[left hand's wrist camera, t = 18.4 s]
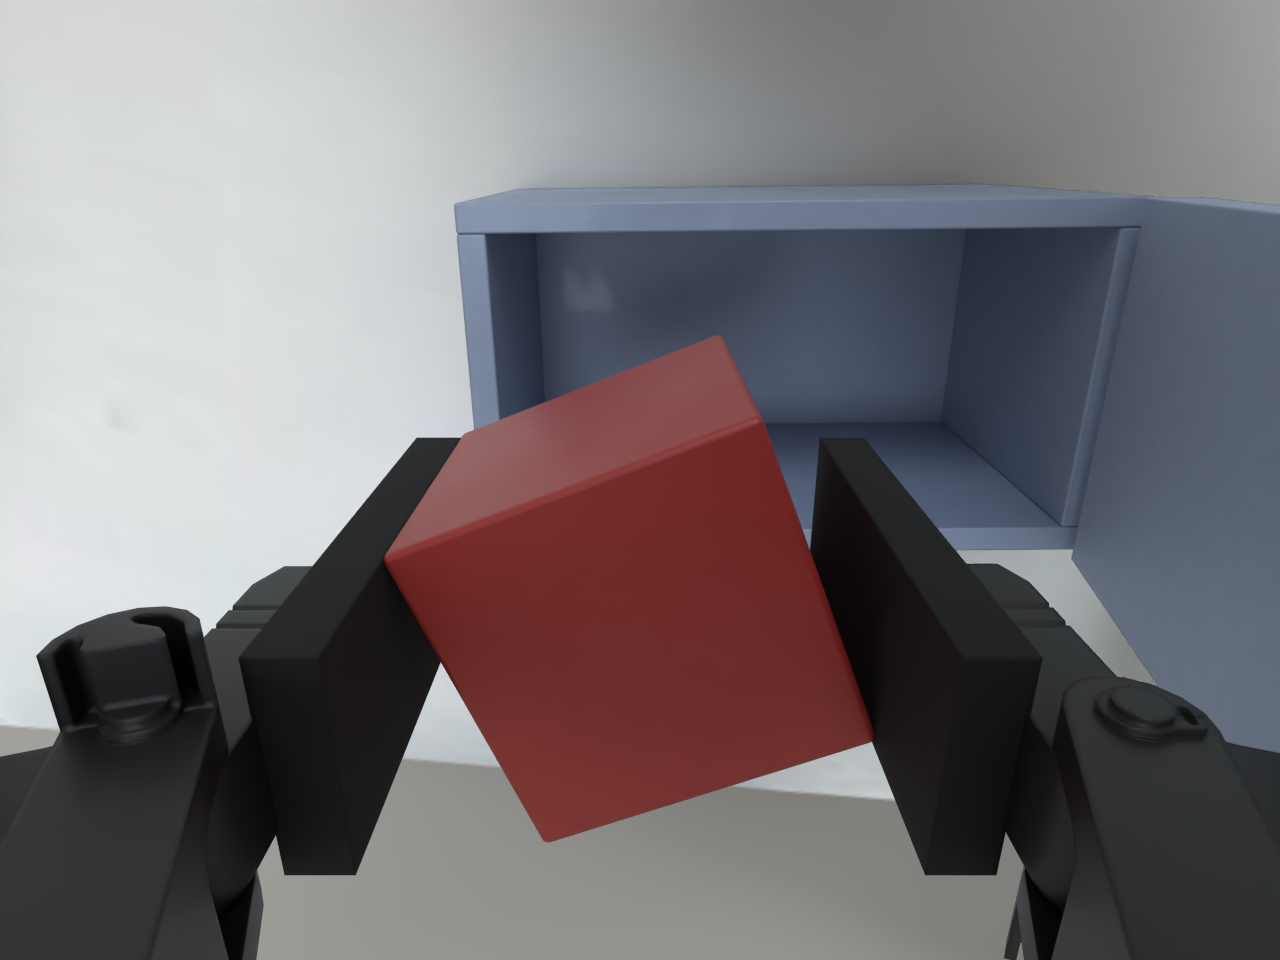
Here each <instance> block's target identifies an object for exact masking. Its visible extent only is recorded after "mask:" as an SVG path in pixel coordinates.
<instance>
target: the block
mask: <svg viewBox="0 0 1280 960" xmlns="http://www.w3.org/2000/svg"><path fill="white" fill-rule="evenodd" d="M384 563H385V565H386V567H387V569H388V571H389V572H390V574H391V576H392V578H393V579H394V581H395V583H396V585H397V586H398V588H399V590H400V592H401V593H402V595H403V597H404V599H405V600H406V602H407V604H408V606H409V607H410V609H411V611H412V613H413V614H414V616H415V618H416V619H417V621H418V623H419V625H420V626H421V628H422V630H423V632H424V633H425V635H426V637H427V639H428V640H429V642H430V644H431V646H432V647H433V649H434V651H435V653H436V654H437V656H438V658H439V660H440V661H441V663H442V665H443V667H444V668H445V670H446V672H447V674H448V675H449V677H450V679H451V680H452V682H453V684H454V686H455V687H456V689H457V691H458V693H459V694H460V696H461V698H462V700H463V701H464V703H465V705H466V707H467V708H468V710H469V712H470V714H471V715H472V717H473V719H474V721H475V722H476V724H477V726H478V728H479V729H480V731H481V733H482V735H483V736H484V738H485V740H486V742H487V743H488V745H489V747H490V748H491V750H492V752H493V754H494V755H495V757H496V759H497V761H498V762H499V764H500V766H501V768H502V769H503V771H504V773H505V775H506V776H507V778H508V780H509V782H510V783H511V785H512V787H513V789H514V790H515V792H516V794H517V795H518V797H519V799H520V801H521V803H522V804H523V806H524V808H525V809H526V811H527V813H528V815H529V816H530V818H531V820H532V822H533V823H534V825H535V827H536V829H537V830H538V832H539V834H540V836H541V837H542V839H543V840H544V841H545V842H552V841H555V840H558V839H562V838H565V837H568V836H571V835H575V834H578V833H581V832H584V831H587V830H591V829H594V828H597V827H600V826H603V825H607V824H610V823H613V822H616V821H619V820H623V819H626V818H629V817H632V816H635V815H639V814H642V813H645V812H648V811H651V810H655V809H658V808H661V807H664V806H668V805H671V804H674V803H677V802H680V801H684V800H687V799H690V798H693V797H696V796H700V795H703V794H706V793H709V792H712V791H716V790H719V789H722V788H725V787H729V786H732V785H735V784H738V783H741V782H745V781H748V780H751V779H754V778H757V777H761V776H764V775H767V774H770V773H773V772H777V771H780V770H783V769H786V768H790V767H793V766H796V765H799V764H802V763H806V762H809V761H812V760H815V759H818V758H822V757H825V756H828V755H831V754H834V753H838V752H841V751H844V750H847V749H850V748H854V747H857V746H860V745H863V744H867V743H870V742H872V741H873V740H874V728H873V726H872V723H871V720H870V717H869V714H868V712H867V709H866V706H865V703H864V700H863V698H862V695H861V692H860V689H859V686H858V684H857V681H856V678H855V675H854V672H853V670H852V667H851V664H850V661H849V658H848V656H847V653H846V650H845V647H844V644H843V642H842V639H841V636H840V633H839V630H838V628H837V625H836V622H835V619H834V616H833V613H832V611H831V608H830V605H829V602H828V599H827V597H826V594H825V591H824V588H823V585H822V583H821V580H820V577H819V574H818V571H817V569H816V566H815V563H814V560H813V557H812V555H811V552H810V549H809V546H808V543H807V541H806V538H805V535H804V532H803V529H802V527H801V524H800V521H799V518H798V515H797V513H796V510H795V507H794V504H793V501H792V499H791V496H790V493H789V490H788V487H787V484H786V482H785V479H784V476H783V473H782V470H781V468H780V465H779V462H778V459H777V456H776V454H775V451H774V448H773V445H772V442H771V440H770V437H769V434H768V431H767V428H766V426H765V423H764V420H763V418H762V416H761V414H760V412H759V410H758V408H757V406H756V404H755V402H754V400H753V398H752V396H751V394H750V392H749V390H748V387H747V385H746V383H745V381H744V379H743V377H742V375H741V373H740V371H739V369H738V367H737V365H736V363H735V361H734V359H733V357H732V355H731V353H730V351H729V349H728V347H727V345H726V343H725V341H724V339H723V337H722V336H721V335H716V336H713V337H711V338H708V339H706V340H703V341H700V342H698V343H695V344H693V345H690V346H688V347H685V348H683V349H680V350H677V351H675V352H672V353H670V354H667V355H665V356H662V357H659V358H657V359H654V360H652V361H649V362H647V363H644V364H642V365H639V366H636V367H634V368H631V369H629V370H626V371H624V372H621V373H619V374H616V375H613V376H611V377H608V378H606V379H603V380H601V381H598V382H596V383H593V384H590V385H588V386H585V387H583V388H580V389H578V390H575V391H573V392H570V393H567V394H565V395H562V396H560V397H557V398H555V399H552V400H550V401H547V402H544V403H542V404H539V405H537V406H534V407H532V408H529V409H527V410H524V411H521V412H519V413H516V414H514V415H511V416H509V417H506V418H504V419H501V420H498V421H496V422H493V423H491V424H488V425H486V426H483V427H481V428H478V429H475V430H473V431H470V432H468V433H465V434H464V435H463V436H462V437H461V439H460V441H459V443H458V444H457V446H456V447H455V449H454V450H453V452H452V453H451V455H450V456H449V458H448V459H447V461H446V462H445V464H444V466H443V467H442V469H441V470H440V472H439V473H438V475H437V476H436V478H435V479H434V481H433V482H432V484H431V486H430V487H429V489H428V490H427V492H426V493H425V495H424V496H423V498H422V499H421V501H420V502H419V504H418V505H417V507H416V509H415V510H414V512H413V513H412V515H411V516H410V518H409V519H408V521H407V522H406V524H405V525H404V527H403V529H402V530H401V532H400V533H399V535H398V536H397V538H396V539H395V541H394V542H393V544H392V545H391V547H390V549H389V550H388V552H387V553H386V555H385V557H384Z"/></svg>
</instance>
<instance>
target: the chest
mask: <svg viewBox="0 0 1280 960" xmlns="http://www.w3.org/2000/svg"><path fill="white" fill-rule="evenodd" d="M1149 197H1154V196H1147V195H1133V194H1118V193H1104V192H1090V191H1076V190H1062V189H1048V188H1034V187H1020V186H1006V185H992V184H926V185H833V186H739V187H646V188H553V189H516V190H511V191H507V192H502V193H498V194H494V195H490V196H486V197H481V198H477V199H473V200H469V201H465V202H460V203H456V204H455V205H454V210H455V221H456V232H457V233H458V234H459V235H457V243H458V254H459V266H460V277H461V288H462V299H463V310H464V321H465V332H466V343H467V354H468V365H469V376H470V387H471V399H472V410H473V421H474V430H475V429H478V428H481V427H483V426H486V425H488V424H491V423H493V422H496V421H498V420H501V419H504V418H506V417H509V416H511V415H514V414H516V413H519V412H521V411H524V410H527V409H529V408H532V407H534V406H537V405H539V404H542V403H544V402H547V401H550V400H552V399H555V398H557V397H560V396H562V395H565V394H567V393H570V392H573V391H575V390H578V389H580V388H583V387H585V386H588V385H590V384H593V383H596V382H598V381H601V380H603V379H606V378H608V377H611V376H613V375H616V374H619V373H621V372H624V371H626V370H629V369H631V368H634V367H636V366H639V365H642V364H644V363H647V362H649V361H652V360H654V359H657V358H659V357H662V356H665V355H667V354H670V353H672V352H675V351H677V350H680V349H683V348H685V347H688V346H690V345H693V344H695V343H698V342H700V341H703V340H706V339H708V338H711V337H713V336H716V335H721V336H722V337H723V339H724V341H725V343H726V345H727V347H728V349H729V351H730V353H731V355H732V357H733V359H734V361H735V363H736V365H737V367H738V369H739V371H740V373H741V375H742V377H743V379H744V381H745V383H746V385H747V387H748V390H749V392H750V394H751V396H752V398H753V400H754V402H755V404H756V406H757V408H758V410H759V412H760V414H761V416H762V418H763V420H764V423H765V426H766V428H767V431H768V434H769V437H770V440H771V442H772V445H773V448H774V451H775V454H776V456H777V459H778V462H779V465H780V468H781V470H782V473H783V476H784V479H785V482H786V484H787V487H788V490H789V493H790V496H791V499H792V501H793V504H794V507H795V510H796V513H797V515H798V518H799V521H800V524H801V527H802V529H803V532H804V535H805V538H806V541H807V543H808V546H809V549H810V543H811V532H812V520H813V508H814V496H815V485H816V473H817V461H818V450H819V438H865V440H866V441H867V442H868V443H869V445H870V446H871V447H872V448H873V449H874V451H875V452H876V453H877V454H878V456H879V457H880V458H881V459H882V461H883V462H884V463H885V464H886V465H887V467H888V468H889V469H890V470H891V472H892V473H893V474H894V475H895V477H896V478H897V479H898V480H899V481H900V483H901V484H902V485H903V486H904V488H905V489H906V490H907V491H908V493H909V494H910V495H911V496H912V497H913V499H914V500H915V501H916V502H917V504H918V505H919V506H920V507H921V509H922V510H923V511H924V512H925V513H926V515H927V516H928V517H929V518H930V520H931V521H932V522H933V523H934V525H935V526H936V527H937V528H938V529H939V531H940V532H941V533H942V534H943V536H944V537H945V538H946V539H947V541H948V542H949V543H950V544H951V545H952V547H953V548H954V549H955V550H1041V549H1073V548H1074V544H1075V539H1076V534H1077V529H1078V525H1079V520H1080V515H1081V510H1082V506H1083V501H1084V496H1085V491H1086V486H1087V482H1088V477H1089V472H1090V467H1091V463H1092V458H1093V453H1094V448H1095V443H1096V439H1097V434H1098V429H1099V424H1100V420H1101V415H1102V410H1103V405H1104V401H1105V396H1106V391H1107V386H1108V381H1109V377H1110V372H1111V367H1112V362H1113V358H1114V353H1115V348H1116V343H1117V338H1118V334H1119V329H1120V324H1121V319H1122V315H1123V310H1124V305H1125V300H1126V296H1127V291H1128V286H1129V281H1130V276H1131V272H1132V267H1133V262H1134V257H1135V253H1136V248H1137V243H1138V238H1139V234H1140V229H1141V224H1142V219H1143V214H1144V210H1145V205H1146V200H1147V198H1149Z"/></svg>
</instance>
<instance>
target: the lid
mask: <svg viewBox="0 0 1280 960" xmlns="http://www.w3.org/2000/svg"><path fill="white" fill-rule="evenodd" d="M1072 560H1073V562H1074V563H1075V565H1076V566H1077V568H1078V569H1079V571H1080V572H1081V574H1082V575H1083V577H1084V578H1085V580H1086V581H1087V583H1088V584H1089V585H1090V587H1091V588H1092V590H1093V591H1094V593H1095V594H1096V596H1097V597H1098V599H1099V600H1100V602H1101V603H1102V605H1103V606H1104V608H1105V609H1106V611H1107V612H1108V613H1109V615H1110V616H1111V618H1112V619H1113V621H1114V622H1115V624H1116V625H1117V627H1118V628H1119V630H1120V631H1121V633H1122V634H1123V636H1124V637H1125V639H1126V640H1127V641H1128V643H1129V644H1130V646H1131V647H1132V649H1133V650H1134V652H1135V653H1136V655H1137V656H1138V658H1139V659H1140V661H1141V662H1142V664H1143V665H1144V667H1145V668H1146V669H1147V671H1148V672H1149V674H1150V675H1151V677H1152V678H1153V680H1154V681H1155V683H1156V684H1157V686H1158V687H1159V688H1161V689H1164V690H1166V691H1168V692H1171V693H1173V694H1175V695H1178V696H1180V697H1182V698H1183V699H1185V700H1186V701H1188V702H1189V703H1191V704H1192V705H1194V706H1195V707H1197V708H1198V709H1200V710H1201V711H1203V712H1204V713H1205V714H1206V715H1207V716H1208V717H1209V718H1210V720H1211V721H1212V722H1213V723H1214V724H1215V726H1216V727H1217V728H1218V729H1219V730H1220V732H1221V734H1222V736H1223V738H1224V739H1225V741H1226V742H1229V743H1233V744H1237V745H1242V746H1247V747H1252V748H1257V749H1262V750H1267V751H1272V752H1278V753H1280V205H1274V204H1264V203H1254V202H1244V201H1234V200H1223V199H1213V198H1203V197H1149V198H1147V200H1146V205H1145V210H1144V214H1143V219H1142V224H1141V229H1140V234H1139V238H1138V243H1137V248H1136V253H1135V257H1134V262H1133V267H1132V272H1131V276H1130V281H1129V286H1128V291H1127V296H1126V300H1125V305H1124V310H1123V315H1122V319H1121V324H1120V329H1119V334H1118V338H1117V343H1116V348H1115V353H1114V358H1113V362H1112V367H1111V372H1110V377H1109V381H1108V386H1107V391H1106V396H1105V401H1104V405H1103V410H1102V415H1101V420H1100V424H1099V429H1098V434H1097V439H1096V443H1095V448H1094V453H1093V458H1092V463H1091V467H1090V472H1089V477H1088V482H1087V486H1086V491H1085V496H1084V501H1083V506H1082V510H1081V515H1080V520H1079V525H1078V529H1077V534H1076V539H1075V544H1074V548H1073V553H1072Z"/></svg>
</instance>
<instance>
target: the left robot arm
mask: <svg viewBox="0 0 1280 960" xmlns="http://www.w3.org/2000/svg"><path fill="white" fill-rule="evenodd" d="M460 439H461V438H416V440H415V441H414V442H413V443H412V444H411V446H410V447H409V448H408V449H407V451H406V452H405V453H404V454H403V456H402V457H401V458H400V459H399V460H398V462H397V463H396V464H395V465H394V467H393V468H392V469H391V470H390V472H389V473H388V474H387V475H386V476H385V478H384V479H383V480H382V481H381V483H380V484H379V485H378V486H377V488H376V489H375V490H374V491H373V492H372V494H371V495H370V496H369V497H368V499H367V500H366V501H365V502H364V504H363V505H362V506H361V507H360V508H359V510H358V511H357V512H356V513H355V515H354V516H353V517H352V518H351V520H350V521H349V522H348V523H347V524H346V526H345V527H344V528H343V529H342V531H341V532H340V533H339V534H338V536H337V537H336V538H335V539H334V541H333V542H332V543H331V544H330V545H329V547H328V548H327V549H326V550H325V552H324V553H323V554H322V555H321V557H320V558H319V559H318V560H317V561H316V563H315V564H314V565H313V566H284V567H282V568H281V569H279V570H277V571H275V572H274V573H272V574H270V575H268V576H267V577H265V578H263V579H262V580H260V581H258V582H256V583H255V584H253V585H252V586H251V587H250V588H249V589H248V590H247V591H246V592H245V593H244V594H243V596H242V597H241V598H240V599H239V600H238V601H237V602H236V603H235V604H234V605H233V610H229V611H228V612H227V613H226V614H225V615H224V616H223V617H222V618H221V619H220V621H219V622H218V623H217V624H216V629H211V630H210V631H209V633H208V634H207V635H206V636H205V637H203V632H202V628H201V624H200V619H199V618H198V617H196V616H195V615H193V614H192V613H191V612H189V611H188V610H183V609H178V608H172V607H166V606H165V607H147V608H136V609H131V610H126V611H122V612H117V613H112V614H108V615H105V616H102V617H100V618H97V619H94V620H91V621H89V622H86V623H83V624H81V625H78V626H76V627H74V628H73V629H71V630H69V631H67V632H66V633H64V634H62V635H60V636H59V637H57V638H55V639H53V640H52V641H51V642H50V643H49V644H48V645H47V646H46V647H45V648H44V649H43V650H42V651H41V652H40V653H39V654H38V655H36V657H37V660H38V663H39V666H40V669H41V672H42V675H43V678H44V682H45V685H46V688H47V691H48V694H49V697H50V700H51V703H52V706H53V710H54V713H55V716H56V719H57V722H58V725H59V728H60V731H61V732H60V733H59V735H58V737H57V739H56V741H55V743H54V745H53V746H51V747H47V748H43V749H38V750H32V751H27V752H22V753H17V754H12V755H7V756H2V757H0V960H256V957H257V950H258V942H259V935H260V927H261V920H262V913H263V897H262V890H261V885H260V881H259V876H258V872H257V869H258V867H259V865H260V863H261V861H262V860H263V858H264V856H265V854H266V852H267V850H268V848H269V847H270V845H271V843H272V841H273V839H274V837H275V836H276V837H277V842H278V846H279V851H280V856H281V860H282V865H283V870H284V874H285V875H356V873H357V871H358V868H359V865H360V863H361V860H362V858H363V855H364V853H365V850H366V848H367V845H368V843H369V840H370V838H371V835H372V833H373V830H374V828H375V825H376V823H377V820H378V818H379V815H380V813H381V810H382V808H383V805H384V803H385V800H386V798H387V795H388V793H389V790H390V788H391V785H392V783H393V780H394V778H395V775H396V773H397V770H398V768H399V765H400V763H401V760H402V758H403V755H404V753H405V750H406V748H407V745H408V743H409V740H410V738H411V735H412V733H413V730H414V728H415V725H416V723H417V720H418V718H419V715H420V713H421V710H422V708H423V705H424V703H425V700H426V698H427V695H428V693H429V690H430V688H431V685H432V683H433V680H434V678H435V675H436V672H437V670H438V667H439V665H440V662H441V661H440V660H439V658H438V656H437V654H436V653H435V651H434V649H433V647H432V646H431V644H430V642H429V640H428V639H427V637H426V635H425V633H424V632H423V630H422V628H421V626H420V625H419V623H418V621H417V619H416V618H415V616H414V614H413V613H412V611H411V609H410V607H409V606H408V604H407V602H406V600H405V599H404V597H403V595H402V593H401V592H400V590H399V588H398V586H397V585H396V583H395V581H394V579H393V578H392V576H391V574H390V572H389V571H388V569H387V567H386V565H385V563H384V557H385V555H386V553H387V552H388V550H389V549H390V547H391V545H392V544H393V542H394V541H395V539H396V538H397V536H398V535H399V533H400V532H401V530H402V529H403V527H404V525H405V524H406V522H407V521H408V519H409V518H410V516H411V515H412V513H413V512H414V510H415V509H416V507H417V505H418V504H419V502H420V501H421V499H422V498H423V496H424V495H425V493H426V492H427V490H428V489H429V487H430V486H431V484H432V482H433V481H434V479H435V478H436V476H437V475H438V473H439V472H440V470H441V469H442V467H443V466H444V464H445V462H446V461H447V459H448V458H449V456H450V455H451V453H452V452H453V450H454V449H455V447H456V446H457V444H458V443H459V441H460ZM810 552H811V555H812V557H813V560H814V563H815V566H816V569H817V571H818V574H819V577H820V580H821V583H822V585H823V588H824V591H825V594H826V597H827V599H828V602H829V605H830V608H831V611H832V613H833V616H834V619H835V622H836V625H837V628H838V630H839V633H840V636H841V639H842V642H843V644H844V647H845V650H846V653H847V656H848V658H849V661H850V664H851V667H852V670H853V672H854V675H855V678H856V681H857V684H858V686H859V689H860V692H861V695H862V698H863V700H864V703H865V706H866V709H867V712H868V714H869V717H870V720H871V723H872V726H873V728H874V740H873V741H872V743H873V745H874V748H875V750H876V753H877V755H878V758H879V760H880V763H881V765H882V768H883V770H884V773H885V775H886V778H887V781H888V783H889V786H890V788H891V791H892V793H893V796H894V798H895V801H896V803H897V806H898V808H899V811H900V813H901V816H902V818H903V821H904V823H905V826H906V828H907V830H908V833H909V836H910V838H911V841H912V843H913V846H914V848H915V851H916V853H917V856H918V858H919V861H920V863H921V866H922V868H923V871H924V873H925V875H996V874H997V870H998V865H999V860H1000V856H1001V851H1002V846H1003V841H1004V837H1005V832H1006V833H1007V835H1008V837H1009V839H1010V841H1011V842H1012V844H1013V846H1014V848H1015V850H1016V852H1017V853H1018V855H1019V857H1020V859H1021V861H1022V863H1023V864H1024V867H1023V872H1022V876H1021V881H1020V885H1019V889H1018V894H1017V898H1016V902H1015V907H1014V911H1013V915H1012V920H1011V924H1010V928H1009V933H1008V937H1007V942H1006V949H1005V956H1004V958H1006V959H1009V960H1016V958H1017V954H1018V950H1019V946H1020V943H1021V942H1022V948H1023V955H1024V960H1280V753H1278V752H1272V751H1267V750H1262V749H1257V748H1252V747H1247V746H1242V745H1237V744H1233V743H1229V742H1226V741H1225V739H1224V738H1223V736H1222V734H1221V732H1220V730H1219V729H1218V728H1217V727H1216V726H1215V724H1214V723H1213V722H1212V721H1211V720H1210V718H1209V717H1208V716H1207V715H1206V714H1205V713H1204V712H1203V711H1201V710H1200V709H1198V708H1197V707H1195V706H1194V705H1192V704H1191V703H1189V702H1188V701H1186V700H1185V699H1183V698H1182V697H1180V696H1178V695H1175V694H1173V693H1171V692H1168V691H1166V690H1164V689H1161V688H1159V687H1157V686H1154V685H1152V684H1148V683H1144V682H1140V681H1136V680H1132V679H1128V678H1124V677H1117V676H1116V675H1115V674H1114V673H1113V672H1112V671H1111V670H1110V669H1109V668H1108V667H1107V665H1106V664H1105V663H1104V662H1103V661H1102V660H1101V659H1100V658H1099V657H1098V656H1097V655H1096V654H1095V653H1094V651H1093V650H1092V649H1091V648H1090V647H1089V646H1088V645H1087V644H1086V643H1085V642H1084V641H1083V640H1082V638H1081V637H1080V636H1079V635H1078V634H1077V633H1076V632H1075V631H1074V630H1073V629H1072V628H1071V627H1070V626H1066V624H1065V620H1064V619H1063V618H1062V617H1061V616H1060V615H1059V614H1058V613H1057V612H1056V610H1055V609H1054V608H1049V603H1048V602H1047V601H1046V600H1045V599H1044V597H1043V596H1042V595H1041V594H1040V593H1039V592H1038V591H1037V590H1036V589H1035V588H1034V587H1033V586H1032V585H1031V583H1030V582H1028V581H1027V580H1025V579H1023V578H1021V577H1019V576H1018V575H1016V574H1014V573H1012V572H1011V571H1009V570H1007V569H1005V568H1004V567H1002V566H1000V565H998V564H966V563H965V561H964V560H963V559H962V558H961V557H960V555H959V554H958V553H957V552H956V550H955V549H954V548H953V547H952V545H951V544H950V543H949V542H948V541H947V539H946V538H945V537H944V536H943V534H942V533H941V532H940V531H939V529H938V528H937V527H936V526H935V525H934V523H933V522H932V521H931V520H930V518H929V517H928V516H927V515H926V513H925V512H924V511H923V510H922V509H921V507H920V506H919V505H918V504H917V502H916V501H915V500H914V499H913V497H912V496H911V495H910V494H909V493H908V491H907V490H906V489H905V488H904V486H903V485H902V484H901V483H900V481H899V480H898V479H897V478H896V477H895V475H894V474H893V473H892V472H891V470H890V469H889V468H888V467H887V465H886V464H885V463H884V462H883V461H882V459H881V458H880V457H879V456H878V454H877V453H876V452H875V451H874V449H873V448H872V447H871V446H870V445H869V443H868V442H867V441H866V440H865V438H819V450H818V461H817V473H816V485H815V496H814V508H813V520H812V532H811V543H810Z"/></svg>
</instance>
